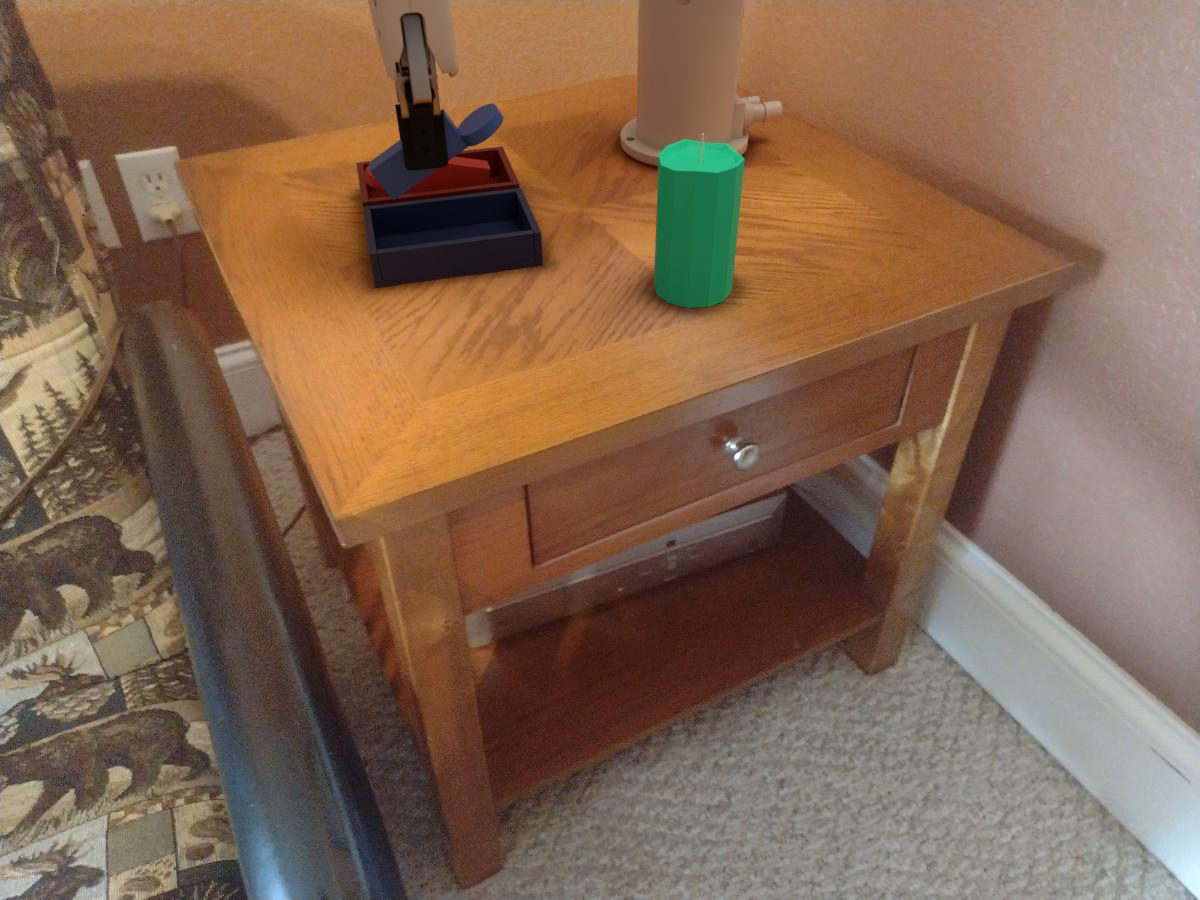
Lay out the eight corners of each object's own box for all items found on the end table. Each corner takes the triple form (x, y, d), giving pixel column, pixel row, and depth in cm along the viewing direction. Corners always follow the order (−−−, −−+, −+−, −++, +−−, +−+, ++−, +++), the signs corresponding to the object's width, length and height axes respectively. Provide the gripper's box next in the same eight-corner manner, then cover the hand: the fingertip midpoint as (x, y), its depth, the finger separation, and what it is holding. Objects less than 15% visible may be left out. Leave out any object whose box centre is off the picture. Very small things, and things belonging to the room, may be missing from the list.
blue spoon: (394, 205, 69) (370, 176, 67) (391, 186, 71) (367, 157, 70) (507, 125, 67) (485, 93, 65) (499, 108, 70) (478, 77, 68)
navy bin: (523, 219, 79) (521, 187, 77) (543, 265, 73) (541, 231, 71) (368, 238, 76) (362, 206, 75) (375, 287, 70) (369, 254, 69)
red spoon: (480, 186, 83) (485, 156, 81) (487, 203, 80) (492, 173, 79) (363, 172, 79) (365, 140, 78) (366, 189, 77) (368, 157, 75)
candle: (727, 311, 67) (743, 154, 60) (647, 303, 68) (652, 147, 61) (735, 271, 72) (750, 120, 64) (660, 264, 73) (665, 114, 65)
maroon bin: (505, 176, 85) (502, 146, 84) (521, 215, 79) (519, 183, 78) (362, 192, 83) (356, 162, 81) (367, 234, 77) (361, 202, 75)
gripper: (467, -102, 52) (491, 200, 64) (434, -143, 64) (460, 120, 76) (332, -96, 51) (383, 212, 63) (324, -139, 62) (368, 128, 74)
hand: (425, 160), depth 69 cm, fingers closed on blue spoon, 1 cm apart
